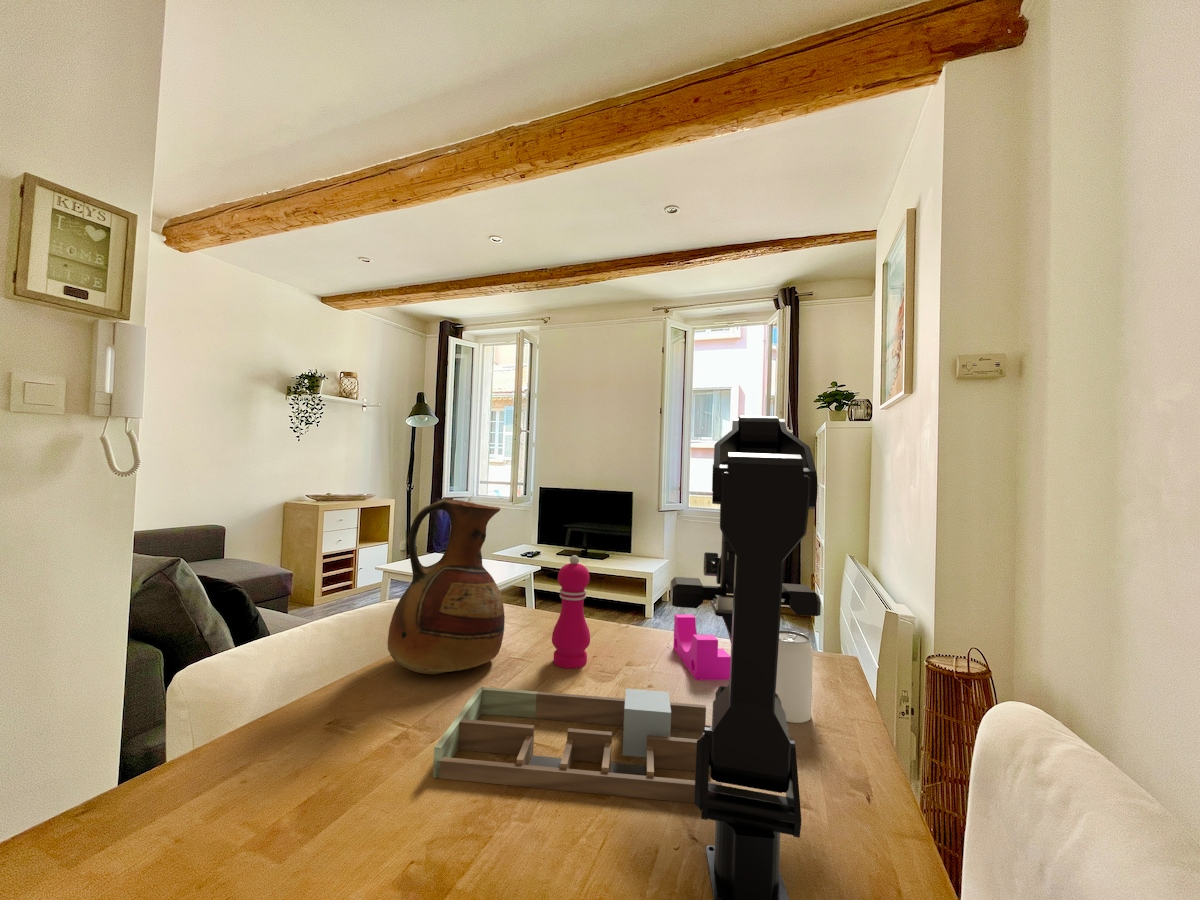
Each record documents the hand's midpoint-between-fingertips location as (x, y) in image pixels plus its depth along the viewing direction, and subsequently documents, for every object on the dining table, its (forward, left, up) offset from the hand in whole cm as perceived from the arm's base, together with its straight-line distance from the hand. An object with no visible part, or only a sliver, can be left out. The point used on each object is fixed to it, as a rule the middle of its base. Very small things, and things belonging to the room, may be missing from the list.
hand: (739, 660), depth 67 cm
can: (+12, -10, -12) cm, 20 cm away
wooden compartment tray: (0, +20, -12) cm, 23 cm away
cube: (0, +12, -12) cm, 17 cm away
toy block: (+30, +2, -12) cm, 32 cm away
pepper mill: (+26, +26, -12) cm, 39 cm away
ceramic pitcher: (+21, +48, -12) cm, 54 cm away
